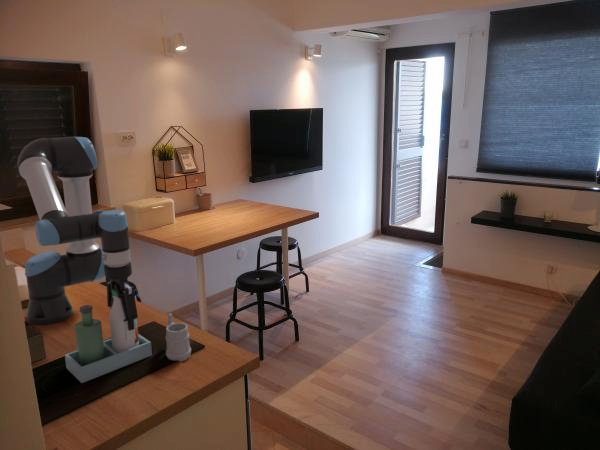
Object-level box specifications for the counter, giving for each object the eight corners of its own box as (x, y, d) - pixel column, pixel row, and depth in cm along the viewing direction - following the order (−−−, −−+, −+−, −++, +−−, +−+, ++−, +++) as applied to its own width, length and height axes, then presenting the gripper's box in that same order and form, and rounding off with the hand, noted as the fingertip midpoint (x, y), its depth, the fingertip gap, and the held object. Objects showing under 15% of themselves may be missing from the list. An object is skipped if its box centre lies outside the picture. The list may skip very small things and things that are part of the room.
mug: (171, 365, 143) (168, 328, 140) (158, 349, 152) (155, 314, 149) (195, 358, 147) (193, 322, 144) (181, 342, 157) (179, 308, 154)
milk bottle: (130, 357, 143) (124, 294, 138) (107, 354, 144) (100, 292, 139) (144, 344, 150) (138, 285, 145) (121, 342, 152) (115, 283, 147)
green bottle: (76, 368, 140) (68, 307, 136) (99, 359, 145) (93, 300, 141) (86, 377, 136) (78, 314, 131) (110, 367, 140) (103, 307, 136)
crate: (66, 369, 141) (64, 354, 139) (135, 344, 155) (133, 330, 154) (81, 385, 133) (79, 368, 132) (152, 356, 148) (150, 342, 146)
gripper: (90, 258, 145) (98, 327, 150) (120, 274, 131) (128, 350, 136) (114, 253, 150) (121, 320, 155) (146, 268, 136) (152, 341, 142)
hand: (124, 334), depth 146 cm, fingers closed on milk bottle, 7 cm apart
